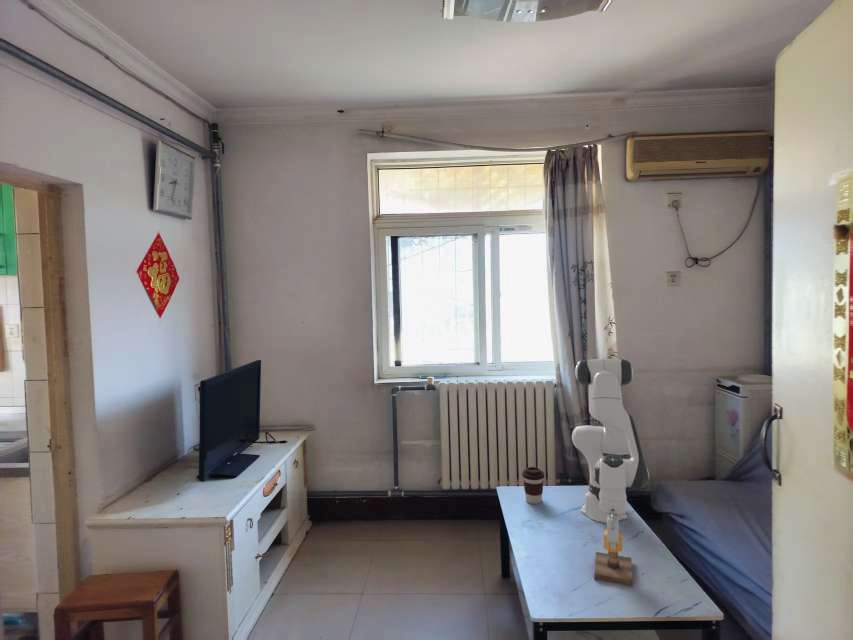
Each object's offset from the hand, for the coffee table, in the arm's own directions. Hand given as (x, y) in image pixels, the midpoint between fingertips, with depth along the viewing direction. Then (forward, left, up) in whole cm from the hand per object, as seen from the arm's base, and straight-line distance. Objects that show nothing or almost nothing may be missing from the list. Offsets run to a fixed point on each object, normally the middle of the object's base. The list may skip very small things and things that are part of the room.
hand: (613, 542), depth 166 cm
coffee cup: (-46, -35, -11) cm, 59 cm away
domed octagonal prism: (0, 0, -2) cm, 2 cm away
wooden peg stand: (0, 0, -11) cm, 11 cm away
